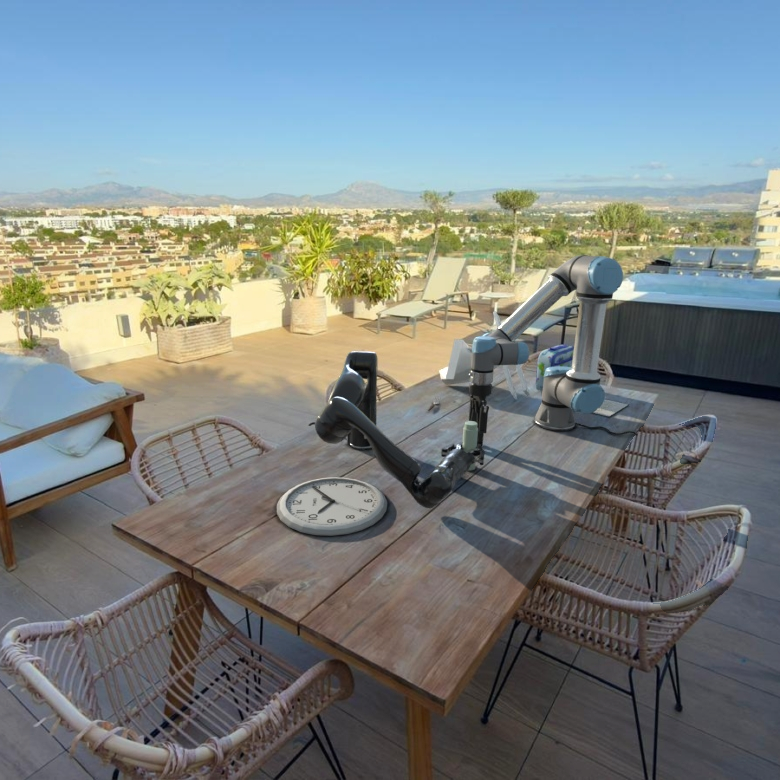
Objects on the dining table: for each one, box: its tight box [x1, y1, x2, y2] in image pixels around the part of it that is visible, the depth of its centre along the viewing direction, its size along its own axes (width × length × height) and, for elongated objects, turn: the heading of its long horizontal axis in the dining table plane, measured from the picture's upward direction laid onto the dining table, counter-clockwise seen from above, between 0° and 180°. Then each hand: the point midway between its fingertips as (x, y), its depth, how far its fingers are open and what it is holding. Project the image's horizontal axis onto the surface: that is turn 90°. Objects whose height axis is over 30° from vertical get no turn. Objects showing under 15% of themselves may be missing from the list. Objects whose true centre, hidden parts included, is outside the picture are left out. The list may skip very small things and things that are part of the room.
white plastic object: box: [438, 310, 531, 400], centre depth 245 cm, size 37×45×31 cm
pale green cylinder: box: [462, 420, 478, 472], centre depth 165 cm, size 4×4×15 cm
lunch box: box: [535, 344, 574, 392], centre depth 247 cm, size 26×11×21 cm, turn 134°
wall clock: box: [276, 476, 388, 537], centre depth 142 cm, size 30×2×30 cm
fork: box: [427, 396, 442, 412], centre depth 222 cm, size 3×16×2 cm, turn 160°
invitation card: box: [592, 399, 629, 418], centre depth 226 cm, size 21×1×15 cm
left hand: (471, 445), depth 167 cm, fingers closed on pale green cylinder, 4 cm apart
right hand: (475, 446), depth 183 cm, fingers closed on lid, 5 cm apart
